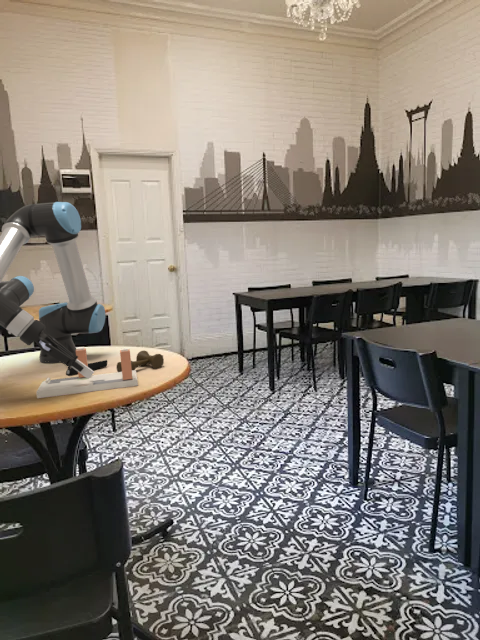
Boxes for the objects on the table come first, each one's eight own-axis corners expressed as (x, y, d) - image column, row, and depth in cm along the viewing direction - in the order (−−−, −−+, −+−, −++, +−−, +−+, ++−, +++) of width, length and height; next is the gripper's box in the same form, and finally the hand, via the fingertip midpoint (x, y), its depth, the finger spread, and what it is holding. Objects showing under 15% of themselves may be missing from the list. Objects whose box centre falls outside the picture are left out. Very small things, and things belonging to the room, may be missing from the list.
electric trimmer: (109, 368, 176) (109, 360, 175) (69, 376, 166) (68, 368, 165) (105, 367, 178) (104, 358, 178) (65, 375, 168) (64, 366, 168)
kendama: (112, 375, 165) (155, 361, 180) (129, 379, 159) (172, 365, 174) (110, 359, 164) (154, 346, 179) (127, 362, 158) (171, 349, 173)
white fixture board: (43, 386, 154) (42, 378, 154) (136, 375, 161) (135, 367, 161) (36, 399, 140) (35, 390, 140) (138, 386, 148) (137, 377, 147)
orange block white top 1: (79, 375, 156) (76, 347, 154) (88, 374, 157) (85, 346, 155) (78, 377, 153) (75, 349, 152) (88, 376, 154) (85, 348, 152)
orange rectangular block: (122, 377, 150) (119, 348, 148) (132, 376, 150) (129, 347, 149) (122, 380, 147) (119, 350, 145) (132, 378, 148) (129, 349, 146)
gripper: (22, 334, 145) (84, 379, 152) (13, 341, 133) (81, 390, 139) (38, 316, 146) (99, 361, 152) (31, 321, 133) (98, 370, 140)
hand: (91, 375), depth 146 cm, fingers closed
